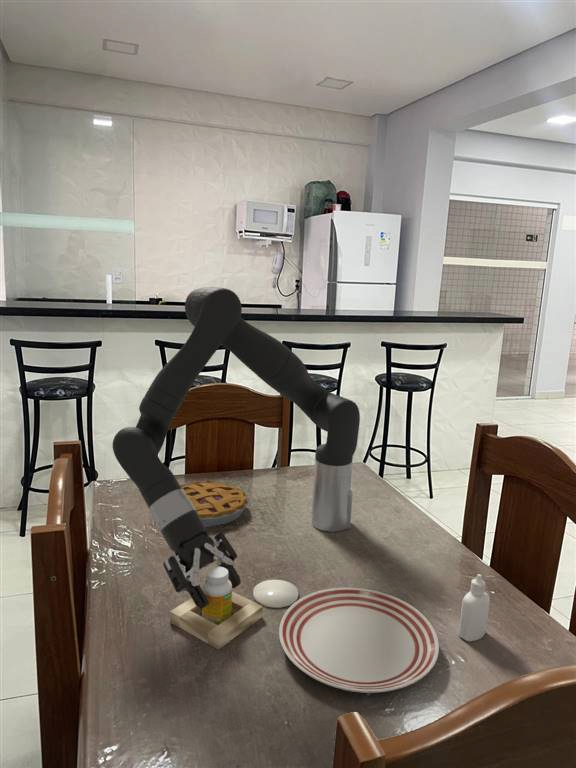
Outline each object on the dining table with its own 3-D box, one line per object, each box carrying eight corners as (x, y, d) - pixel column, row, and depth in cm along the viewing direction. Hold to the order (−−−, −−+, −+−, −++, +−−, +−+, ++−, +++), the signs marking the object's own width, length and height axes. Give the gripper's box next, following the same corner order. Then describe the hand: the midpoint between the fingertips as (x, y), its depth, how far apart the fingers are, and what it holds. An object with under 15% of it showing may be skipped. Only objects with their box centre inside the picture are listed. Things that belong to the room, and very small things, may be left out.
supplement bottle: (226, 630, 105) (227, 581, 103) (197, 626, 106) (198, 577, 104) (234, 613, 110) (236, 566, 108) (207, 608, 111) (208, 562, 109)
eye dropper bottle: (452, 627, 109) (459, 568, 106) (481, 626, 110) (489, 568, 107) (462, 642, 105) (469, 582, 102) (492, 641, 105) (500, 581, 103)
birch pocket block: (214, 593, 116) (215, 583, 116) (262, 616, 110) (262, 606, 109) (169, 622, 107) (169, 611, 106) (218, 649, 100) (218, 638, 100)
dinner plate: (402, 734, 84) (404, 714, 84) (247, 660, 98) (247, 642, 97) (457, 635, 107) (459, 619, 106) (325, 586, 121) (326, 572, 120)
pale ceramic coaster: (294, 581, 122) (294, 578, 122) (302, 606, 113) (302, 603, 113) (251, 583, 121) (251, 580, 120) (255, 609, 112) (255, 606, 112)
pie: (147, 507, 155) (147, 489, 153) (217, 488, 169) (217, 472, 167) (191, 539, 138) (191, 519, 137) (264, 515, 152) (264, 497, 151)
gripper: (158, 523, 103) (205, 606, 99) (214, 498, 114) (258, 572, 110) (138, 541, 107) (182, 622, 103) (194, 515, 118) (236, 587, 114)
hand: (221, 596), depth 106 cm, fingers open, 8 cm apart
